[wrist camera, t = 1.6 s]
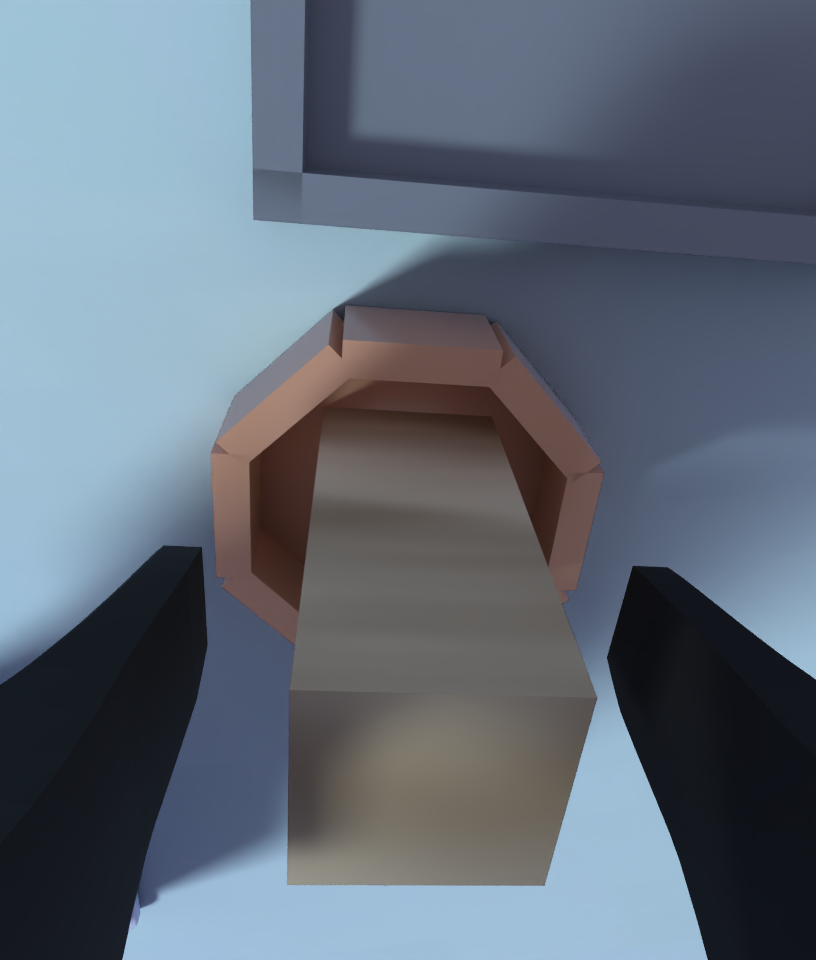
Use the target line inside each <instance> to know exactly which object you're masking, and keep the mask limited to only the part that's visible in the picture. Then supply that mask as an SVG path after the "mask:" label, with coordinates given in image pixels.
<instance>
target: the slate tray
mask: <svg viewBox="0 0 816 960" xmlns="http://www.w3.org/2000/svg"><path fill="white" fill-rule="evenodd" d="M251 69H252V142H253V216H254V220H261V221H274V222H286V223H299V224H312V225H324V226H337V227H349V228H362V229H375V230H387V231H400V232H412V233H425V234H437V235H450V236H463V237H475V238H488V239H500V240H513V241H526V242H538V243H551V244H563V245H576V246H589V247H601V248H614V249H626V250H639V251H652V252H664V253H677V254H689V255H702V256H715V257H727V258H740V259H752V260H765V261H777V262H790V263H803V264H815V265H816V0H251Z"/></svg>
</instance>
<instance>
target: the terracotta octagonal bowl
mask: <svg viewBox="0 0 816 960" xmlns="http://www.w3.org/2000/svg"><path fill="white" fill-rule="evenodd" d="M324 407H337V408H354V409H371V410H388V411H405V412H422V413H440V414H457V415H474V416H491V417H492V419H493V421H494V424H495V427H496V429H497V432H498V435H499V437H500V440H501V443H502V445H503V448H504V451H505V453H506V456H507V459H508V461H509V464H510V467H511V469H512V472H513V475H514V477H515V480H516V483H517V485H518V488H519V491H520V493H521V496H522V499H523V501H524V504H525V507H526V509H527V512H528V515H529V517H530V520H531V522H532V525H533V528H534V530H535V533H536V536H537V538H538V541H539V544H540V546H541V549H542V552H543V554H544V557H545V560H546V562H547V565H548V568H549V570H550V573H551V576H552V578H553V581H554V584H555V586H556V589H557V592H558V594H559V597H560V600H561V602H562V604H564V603H565V602H567V601H568V600H569V598H568V596H567V593H566V591H565V590H568V591H576V589H577V585H578V580H579V576H580V572H581V568H582V564H583V560H584V555H585V551H586V547H587V543H588V539H589V535H590V530H591V526H592V522H593V518H594V514H595V510H596V505H597V501H598V497H599V493H600V489H601V485H602V480H603V476H604V473H603V471H602V470H601V468H600V466H599V464H600V463H602V462H601V461H600V459H599V457H598V456H597V454H596V452H595V451H594V449H593V448H592V446H591V444H590V443H589V441H588V439H587V438H586V436H585V435H584V433H583V431H582V430H581V428H580V427H579V425H578V423H577V422H576V420H575V418H574V417H573V415H572V414H571V413H570V412H569V410H568V409H567V408H566V407H565V405H564V404H563V403H562V402H561V400H560V399H559V398H558V397H557V396H556V394H555V393H554V392H553V391H552V389H551V388H550V387H549V386H548V384H547V383H546V382H545V381H544V379H543V378H542V377H541V376H540V374H539V373H538V372H537V371H536V369H535V368H534V367H533V366H532V364H531V363H530V362H529V361H528V359H527V358H526V357H525V356H524V354H523V353H522V352H521V351H520V350H519V348H518V347H517V346H516V345H515V343H514V342H513V341H512V340H511V338H510V337H509V336H508V335H507V333H506V332H505V331H504V330H503V328H502V327H501V326H500V325H499V323H498V322H497V321H495V322H494V323H493V324H492V325H490V324H489V322H488V320H487V318H486V316H485V315H478V314H464V313H449V312H435V311H421V310H407V309H393V308H378V307H364V306H350V305H346V306H345V318H344V319H343V320H342V319H341V317H340V316H339V315H338V314H337V313H336V312H335V311H334V310H332V311H331V312H329V313H328V314H327V315H326V316H325V317H324V318H323V319H322V320H320V321H319V322H318V323H317V324H316V325H315V326H314V327H312V328H311V329H310V330H309V331H308V332H307V333H306V334H304V335H303V336H302V337H301V338H300V339H299V340H298V341H297V342H295V343H294V344H293V345H292V346H291V347H290V348H289V349H287V350H286V351H285V352H284V353H283V354H282V355H281V356H280V357H278V358H277V359H276V360H275V361H274V362H273V363H272V364H270V365H269V366H268V367H267V368H266V369H265V370H264V371H262V372H261V373H260V374H259V375H258V376H257V377H256V378H255V379H253V380H252V381H251V382H250V383H249V384H248V385H247V386H245V387H244V388H243V389H242V390H241V391H240V392H239V393H237V394H236V395H235V396H234V398H233V401H232V403H231V406H230V407H229V410H228V412H227V415H226V417H225V419H224V422H223V424H222V427H221V429H220V432H219V434H218V437H217V439H216V442H215V444H214V447H213V449H212V451H211V471H212V492H213V513H214V535H215V556H216V577H224V582H223V585H222V588H224V589H225V590H226V591H227V592H229V593H230V594H231V595H232V596H234V597H235V598H236V599H237V600H239V601H240V602H241V603H242V604H244V605H245V606H246V607H247V608H249V609H250V610H251V611H252V612H254V613H255V614H256V615H257V616H259V617H260V618H261V619H262V620H264V621H265V622H266V623H267V624H269V625H270V626H271V627H272V628H273V629H275V630H276V631H277V632H278V633H280V634H281V635H282V636H283V637H285V638H286V639H287V640H288V641H290V642H291V643H292V644H293V645H295V641H296V633H297V624H298V616H299V608H300V600H301V592H302V584H303V575H304V567H305V559H306V551H307V543H308V534H309V526H310V518H311V510H312V502H313V493H314V485H315V477H316V469H317V461H318V452H319V444H320V436H321V428H322V420H323V412H324Z"/></svg>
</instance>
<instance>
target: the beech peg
mask: <svg viewBox="0 0 816 960" xmlns="http://www.w3.org/2000/svg"><path fill="white" fill-rule="evenodd" d="M596 701H597V696H596V693H595V690H594V688H593V685H592V682H591V680H590V677H589V674H588V672H587V669H586V666H585V664H584V661H583V658H582V656H581V653H580V650H579V648H578V645H577V642H576V640H575V637H574V634H573V632H572V629H571V626H570V624H569V621H568V618H567V616H566V613H565V610H564V608H563V605H562V602H561V600H560V597H559V594H558V592H557V589H556V586H555V584H554V581H553V578H552V576H551V573H550V570H549V568H548V565H547V562H546V560H545V557H544V554H543V552H542V549H541V546H540V544H539V541H538V538H537V536H536V533H535V530H534V528H533V525H532V522H531V520H530V517H529V515H528V512H527V509H526V507H525V504H524V501H523V499H522V496H521V493H520V491H519V488H518V485H517V483H516V480H515V477H514V475H513V472H512V469H511V467H510V464H509V461H508V459H507V456H506V453H505V451H504V448H503V445H502V443H501V440H500V437H499V435H498V432H497V429H496V427H495V424H494V421H493V419H492V417H491V416H474V415H457V414H440V413H422V412H405V411H388V410H371V409H354V408H337V407H324V412H323V420H322V428H321V436H320V444H319V452H318V461H317V469H316V477H315V485H314V493H313V502H312V510H311V518H310V526H309V534H308V543H307V551H306V559H305V567H304V575H303V584H302V592H301V600H300V608H299V616H298V624H297V633H296V641H295V649H294V657H293V665H292V674H291V682H290V690H289V772H288V854H287V885H511V886H545V882H546V879H547V875H548V871H549V868H550V864H551V861H552V857H553V854H554V850H555V846H556V843H557V839H558V836H559V832H560V829H561V825H562V822H563V818H564V814H565V811H566V807H567V804H568V800H569V797H570V793H571V790H572V786H573V782H574V779H575V775H576V772H577V768H578V765H579V761H580V757H581V754H582V750H583V747H584V743H585V740H586V736H587V733H588V729H589V725H590V722H591V718H592V715H593V711H594V708H595V704H596Z"/></svg>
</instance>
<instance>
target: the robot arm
mask: <svg viewBox="0 0 816 960" xmlns="http://www.w3.org/2000/svg"><path fill="white" fill-rule="evenodd" d="M207 645H208V644H207V627H206V610H205V593H204V575H203V558H202V547H184V546H163V547H161V548H160V549H159V550H158V551H157V552H156V553H155V554H153V555H152V556H151V557H150V558H149V559H148V560H147V561H146V562H145V563H144V564H143V565H142V566H141V567H140V568H139V569H138V570H137V571H136V572H135V573H134V574H133V575H132V576H131V577H130V578H129V579H128V580H127V581H125V582H124V583H123V584H122V585H121V586H120V587H119V588H118V589H117V590H116V591H115V592H114V593H113V594H112V595H111V596H110V597H108V598H107V599H106V600H105V601H104V602H103V603H102V604H101V605H100V606H98V607H97V608H96V609H95V610H94V611H93V612H92V613H91V614H90V615H89V616H87V617H86V618H85V619H84V620H83V621H82V622H81V623H80V624H78V625H77V626H76V627H75V628H74V629H73V630H71V631H70V632H69V633H68V634H66V635H65V636H64V637H63V638H61V639H60V640H59V641H58V642H57V643H55V644H54V645H53V646H52V647H50V648H49V649H48V650H47V651H46V652H44V653H43V654H42V655H41V656H39V657H38V658H37V659H36V660H34V661H33V662H32V663H30V664H29V665H28V666H26V667H25V668H24V669H22V670H21V671H20V672H18V673H17V674H15V675H14V676H13V677H11V678H10V679H8V680H7V681H5V682H4V683H2V684H1V685H0V960H122V958H123V954H124V949H125V944H126V940H127V935H128V931H129V930H130V929H133V928H134V927H135V926H136V925H137V923H138V919H139V916H140V906H139V899H138V892H137V891H138V887H139V882H140V878H141V874H142V869H143V865H144V861H145V857H146V853H147V849H148V846H149V842H150V839H151V836H152V832H153V829H154V825H155V822H156V819H157V816H158V813H159V811H160V808H161V805H162V802H163V799H164V796H165V793H166V790H167V787H168V784H169V781H170V778H171V775H172V772H173V769H174V766H175V763H176V760H177V757H178V754H179V751H180V748H181V745H182V742H183V739H184V736H185V733H186V730H187V727H188V724H189V721H190V718H191V715H192V712H193V709H194V706H195V703H196V700H197V695H198V690H199V685H200V681H201V676H202V671H203V666H204V660H205V655H206V650H207ZM607 660H608V664H609V668H610V673H611V677H612V681H613V685H614V689H615V693H616V697H617V700H618V704H619V708H620V711H621V714H622V717H623V719H624V722H625V724H626V727H627V730H628V732H629V735H630V737H631V740H632V742H633V745H634V747H635V750H636V752H637V755H638V757H639V759H640V762H641V764H642V767H643V769H644V772H645V774H646V776H647V779H648V781H649V784H650V786H651V789H652V791H653V794H654V796H655V798H656V801H657V803H658V806H659V808H660V811H661V813H662V815H663V818H664V820H665V823H666V825H667V828H668V830H669V833H670V835H671V838H672V841H673V844H674V846H675V849H676V852H677V855H678V857H679V860H680V864H681V867H682V870H683V874H684V877H685V881H686V884H687V887H688V891H689V894H690V897H691V901H692V904H693V908H694V911H695V914H696V918H697V921H698V925H699V929H700V932H701V936H702V940H703V944H704V947H705V951H706V955H707V958H708V960H816V679H814V678H813V677H811V676H810V675H808V674H807V673H806V672H804V671H803V670H801V669H800V668H799V667H797V666H796V665H794V664H793V663H791V662H790V661H789V660H787V659H786V658H785V657H783V656H782V655H781V654H779V653H778V652H777V651H775V650H774V649H773V648H771V647H770V646H769V645H767V644H766V643H765V642H763V641H762V640H761V639H759V638H758V637H757V636H756V635H754V634H753V633H752V632H750V631H749V630H748V629H747V628H745V627H744V626H743V625H742V624H740V623H739V622H738V621H736V620H735V619H734V618H733V617H731V616H730V615H729V614H728V613H726V612H725V611H724V610H723V609H721V608H720V607H719V606H718V605H716V604H715V603H714V602H713V601H711V600H710V599H709V598H708V597H706V596H705V595H704V594H703V593H701V592H700V591H699V590H698V589H696V588H695V587H694V586H692V585H691V584H690V583H689V582H687V581H686V580H685V579H683V578H682V577H681V576H679V575H678V574H676V573H675V572H674V571H672V570H671V569H669V568H668V567H645V566H633V567H632V571H631V574H630V578H629V582H628V585H627V589H626V592H625V596H624V599H623V603H622V606H621V610H620V613H619V617H618V621H617V624H616V628H615V631H614V635H613V638H612V642H611V645H610V649H609V652H608V656H607Z"/></svg>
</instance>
